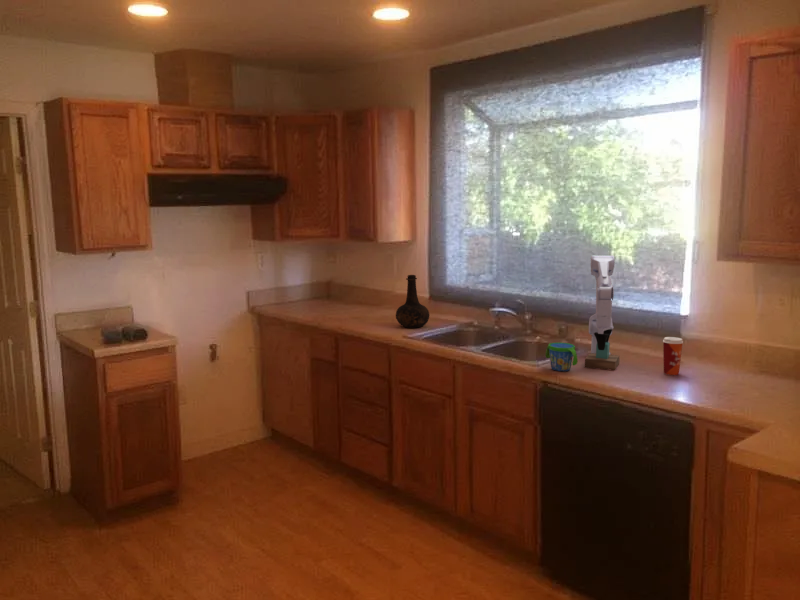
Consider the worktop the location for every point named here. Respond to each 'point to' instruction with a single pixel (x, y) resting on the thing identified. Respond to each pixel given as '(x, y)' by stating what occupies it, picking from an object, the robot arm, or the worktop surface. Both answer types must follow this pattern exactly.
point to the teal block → (603, 351)
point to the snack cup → (561, 356)
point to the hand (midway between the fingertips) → (602, 348)
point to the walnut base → (602, 362)
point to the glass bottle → (412, 308)
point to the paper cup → (672, 355)
